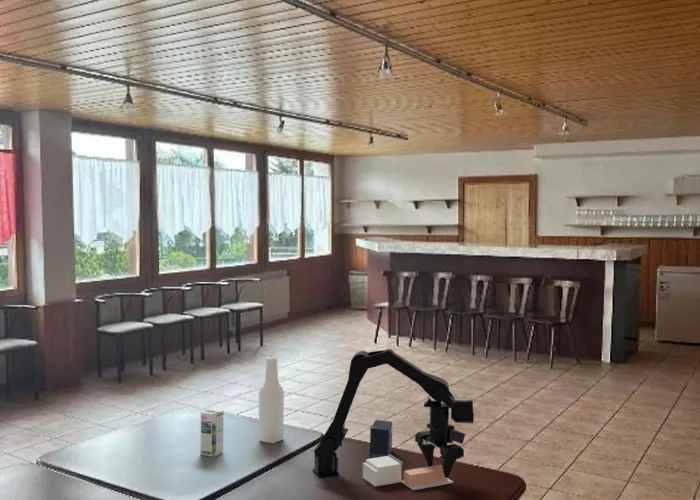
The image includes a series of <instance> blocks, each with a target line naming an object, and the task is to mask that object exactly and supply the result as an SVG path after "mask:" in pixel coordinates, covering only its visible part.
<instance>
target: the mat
mask: <svg viewBox="0 0 700 500" xmlns="http://www.w3.org/2000/svg"><path fill="white" fill-rule="evenodd" d="M400 483H402V484H404V486H406V487H408V488H410V490H412V491H417V490H421V489H427V488H433V487H438V486H443V485H444V486H445V485H449V484H453V483H454V481H453V480H451V479H450V478H448V480H447V481H441V482H436V483H430V484H425V485H419V486H413V487H410V486H408V485H407V484H405V483H404V479H401V482H400Z"/></svg>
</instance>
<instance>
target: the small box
mask: <svg viewBox="0 0 700 500" xmlns="http://www.w3.org/2000/svg"><path fill="white" fill-rule="evenodd" d="M369 429H370V434H369V435H370V436H369V457H368V459H371V458H377V457H384V456H388V455H389V454H391V453H392V451H393V421H390V420H388V421H387V420H380V419H375V420H374V422H373V424H372V425H371V427H370V428H369Z"/></svg>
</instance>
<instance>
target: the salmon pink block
mask: <svg viewBox="0 0 700 500" xmlns="http://www.w3.org/2000/svg"><path fill="white" fill-rule="evenodd" d="M448 479H449V477H448V478H445V476H444V472H443V468H442V464H437V465H432V466H430V467H428V466H424V467H419V468H413V469H407V470H403V480H404V483H405V484H407V485H408V486H410V487H413V486H419V485H425V484H430V483H436V482H441V481H447V480H448ZM405 484H404V485H405ZM408 486H407V487H408Z"/></svg>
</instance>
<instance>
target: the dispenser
mask: <svg viewBox="0 0 700 500" xmlns="http://www.w3.org/2000/svg"><path fill="white" fill-rule="evenodd" d="M403 466H404V461H402V460H400V459H399V458H397V457H395V455H393V454H391V453H390V454H389V455H388V456H384V457H377V458H371V459H369V458H367V459H365V462H362V478H363V479H364V480H365V481H367V482H368V483H369V484H370V485H372V486H373V487H379V486H386V485H392V484H396V483H397V484H398V483H402V482H401V481H402V467H403Z"/></svg>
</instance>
